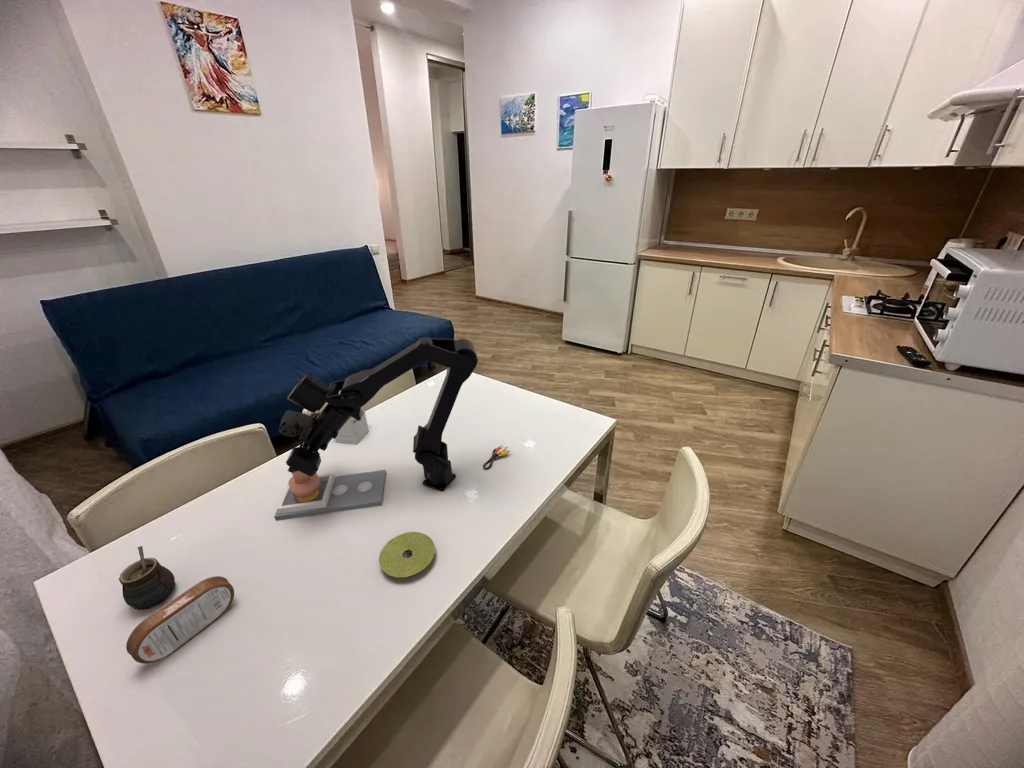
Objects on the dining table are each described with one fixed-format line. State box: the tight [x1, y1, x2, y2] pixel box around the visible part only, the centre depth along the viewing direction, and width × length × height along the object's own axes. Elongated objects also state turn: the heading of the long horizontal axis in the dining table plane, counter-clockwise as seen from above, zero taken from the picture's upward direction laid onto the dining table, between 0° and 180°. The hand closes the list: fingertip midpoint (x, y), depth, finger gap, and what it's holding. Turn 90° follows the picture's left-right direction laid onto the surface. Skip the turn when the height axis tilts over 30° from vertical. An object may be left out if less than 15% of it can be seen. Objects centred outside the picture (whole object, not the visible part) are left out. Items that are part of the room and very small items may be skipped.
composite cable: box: [482, 444, 512, 471], centre depth 113 cm, size 10×5×2 cm, turn 138°
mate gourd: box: [117, 545, 176, 611], centre depth 75 cm, size 7×8×10 cm
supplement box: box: [334, 405, 370, 445], centre depth 121 cm, size 7×7×13 cm
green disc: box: [378, 531, 436, 578], centre depth 84 cm, size 11×11×2 cm
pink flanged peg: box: [287, 466, 320, 498], centre depth 97 cm, size 6×6×9 cm
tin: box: [125, 575, 235, 665], centre depth 70 cm, size 15×3×8 cm, turn 147°
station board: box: [273, 469, 387, 521], centre depth 101 cm, size 24×12×3 cm, turn 101°
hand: (292, 466), depth 96 cm, fingers closed on pink flanged peg, 3 cm apart
